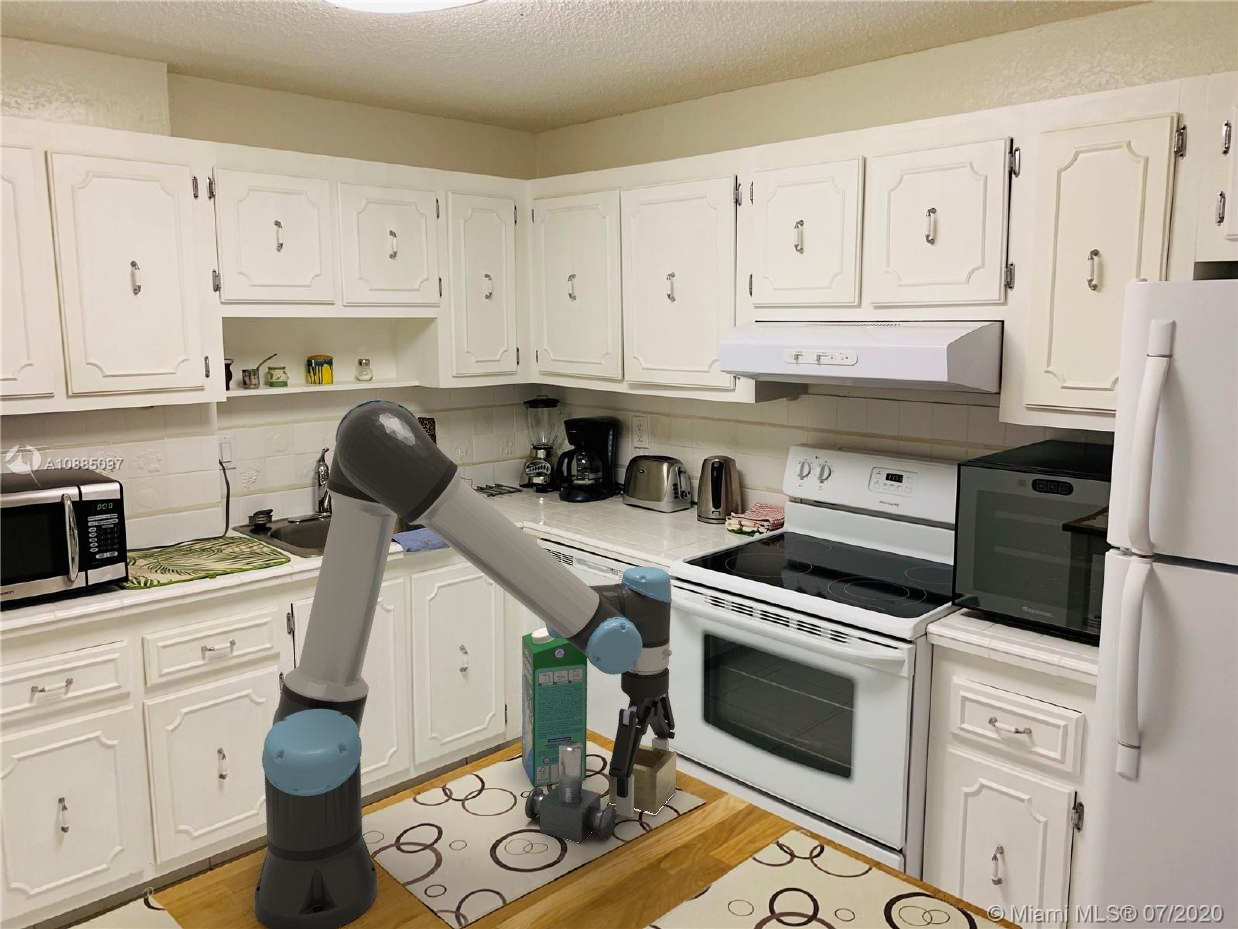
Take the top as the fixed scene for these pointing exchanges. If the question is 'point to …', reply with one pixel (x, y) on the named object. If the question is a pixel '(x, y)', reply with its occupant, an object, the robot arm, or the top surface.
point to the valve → (570, 802)
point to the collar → (650, 779)
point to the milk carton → (551, 703)
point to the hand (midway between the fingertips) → (642, 794)
